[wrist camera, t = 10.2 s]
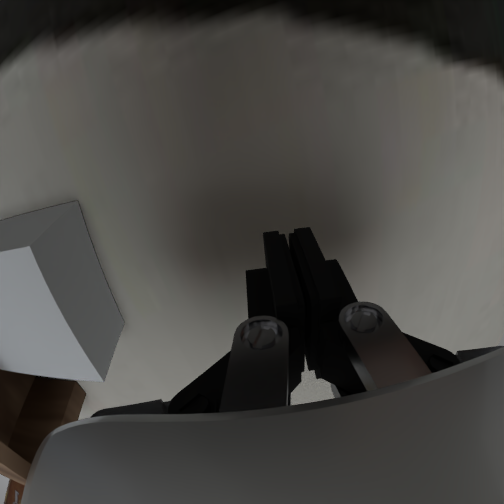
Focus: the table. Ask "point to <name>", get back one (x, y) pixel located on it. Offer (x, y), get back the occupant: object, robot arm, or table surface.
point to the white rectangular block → (54, 298)
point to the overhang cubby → (32, 417)
